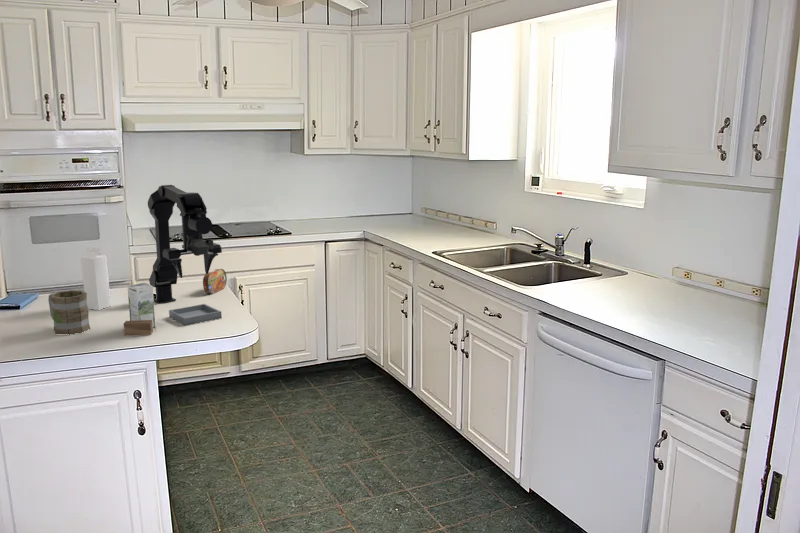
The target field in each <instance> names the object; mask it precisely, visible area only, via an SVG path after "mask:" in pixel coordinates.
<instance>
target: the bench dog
mask: <svg viewBox="0 0 800 533" xmlns="http://www.w3.org/2000/svg"><path fill="white" fill-rule="evenodd" d="M153 332H154V328H153V325H152V320H138V321H130V320H125V321H124V322H123V333H124V335H123V336H125V337H131V336H132V337H133V336H152V334H153Z"/></svg>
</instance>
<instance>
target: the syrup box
mask: <svg viewBox="0 0 800 533" xmlns="http://www.w3.org/2000/svg"><path fill="white" fill-rule="evenodd" d="M127 295H128V296H127V297H128V310H129V321H138V320H152V325H153V329H154V328H156V316H155V314H156V313H155V301H154V299H155V298H154V287H153V286H152V285H150V283H147V282H141V283H136V284H131V285H128V286H127Z"/></svg>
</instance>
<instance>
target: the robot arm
mask: <svg viewBox="0 0 800 533" xmlns="http://www.w3.org/2000/svg"><path fill="white" fill-rule="evenodd" d="M175 205H176V207H177V209H178V210H179V211H180V214H179V216H180V217H181V227H182V232H181V233H180V235H181V237H182V245H181V248H182V249H179V248H176V247H171V243H170V242H171V240H170V239H171V238H170V225H169V223H170V222H169V220H170V218H171V217H172V215H173V213H174V206H175ZM147 208H148V211H149V215H151V216H152V218H153V220H154V228H155V229H154V230H155V243H156V244H155V246H156V247H155V248H156V259H155V262H154V263H153V265H152V271H151V274H150V276H149V278H148V281H149V284H150V285H152V286H153V288H155V297H156V298H154V302H156V303H158V304H164V303H169V302H175V301H176V300H177V299H176V298H174V297H173V289H172V288H173V287H172V285H177V282H178V277H179V278H180V279H182V278H183V269H182V260H183V259H182V258H181V256H183V255H184V256H185V255H191V254H192V255H193V256H197V257H198V256H203V263H204V272H205V274H208V273H209V272H210V269H211V265H212V263H213V261H214V259H215V258H216V257H217V256H219V254H221V253H223V250H222V245H220V244H219V243H216V242H214V239H212V238H208V239H204V238H203V235H206V234H209V233H210V232H211V231H212V229H213V222H212V220H211V219H210V218H209V217H207V214H208V210H207V209H208V207H207V206H206V205H205V202H204V200H203V197H202V196H201V195H200V193H198V192H187V191H184V190H182V189H180V188H178V187H176V186H175V185H173V184H164V185H163V184H162V185H160V186H158V188H157V189H156V190H155V191H154V192H152V193H151V194H150V195H149V197H148V200H147ZM176 302H177V301H176Z"/></svg>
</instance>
